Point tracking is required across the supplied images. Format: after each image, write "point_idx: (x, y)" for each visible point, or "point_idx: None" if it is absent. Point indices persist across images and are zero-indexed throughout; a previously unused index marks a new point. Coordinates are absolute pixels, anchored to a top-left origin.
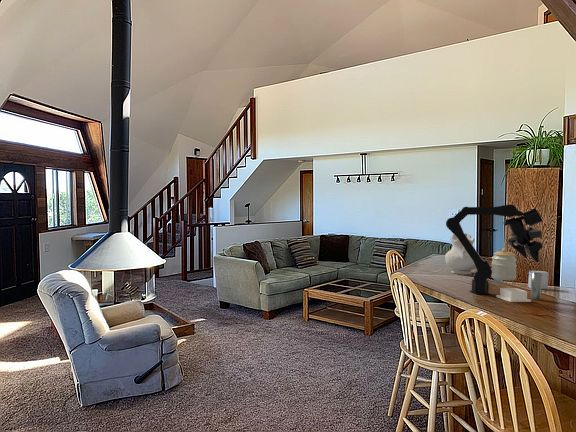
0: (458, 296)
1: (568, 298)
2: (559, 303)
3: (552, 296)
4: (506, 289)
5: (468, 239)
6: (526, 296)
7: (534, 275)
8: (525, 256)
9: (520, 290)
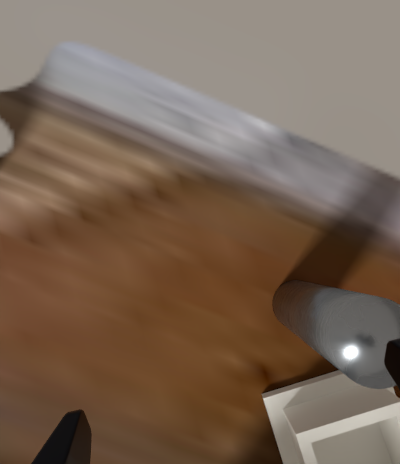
0: None
1: (215, 113)
2: (368, 218)
3: (184, 175)
4: None
5: None
6: (385, 390)
7: None
8: (85, 443)
9: (359, 425)
